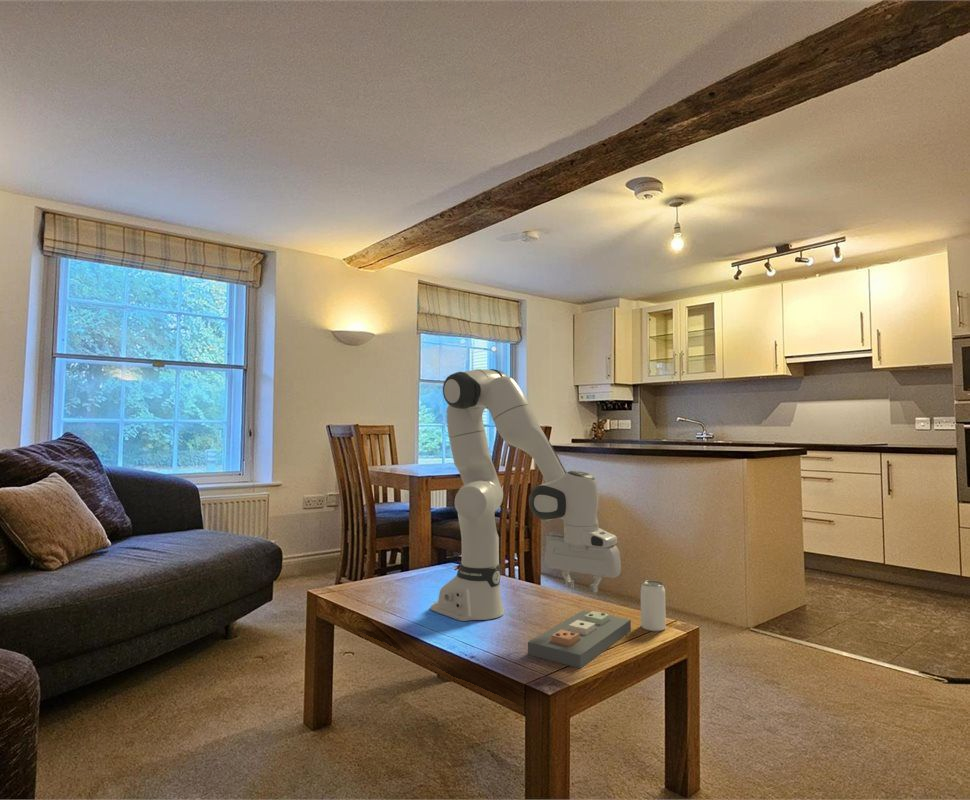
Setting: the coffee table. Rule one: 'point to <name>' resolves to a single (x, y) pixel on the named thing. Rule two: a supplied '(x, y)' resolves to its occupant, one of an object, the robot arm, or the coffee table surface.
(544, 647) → the button board
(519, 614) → the coffee table surface
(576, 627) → the one dot button
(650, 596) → the can
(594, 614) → the two dot button
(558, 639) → the three dot button
